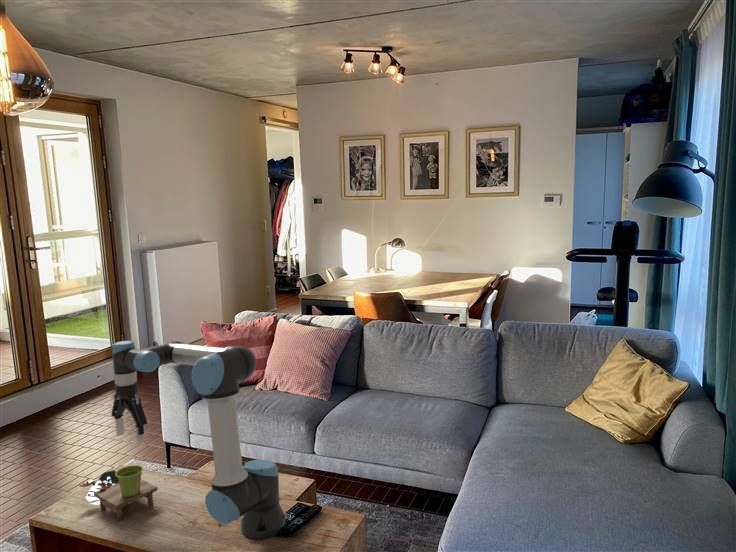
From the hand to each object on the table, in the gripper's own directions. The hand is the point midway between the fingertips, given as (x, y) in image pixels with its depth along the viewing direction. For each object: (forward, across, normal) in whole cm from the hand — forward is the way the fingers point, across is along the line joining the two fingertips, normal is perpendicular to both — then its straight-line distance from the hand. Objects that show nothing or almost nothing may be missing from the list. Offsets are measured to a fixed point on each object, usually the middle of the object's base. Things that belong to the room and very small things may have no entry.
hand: (130, 438), depth 199 cm
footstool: (+26, +2, +2) cm, 27 cm away
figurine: (+27, +16, +3) cm, 31 cm away
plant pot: (+20, -2, +2) cm, 20 cm away
